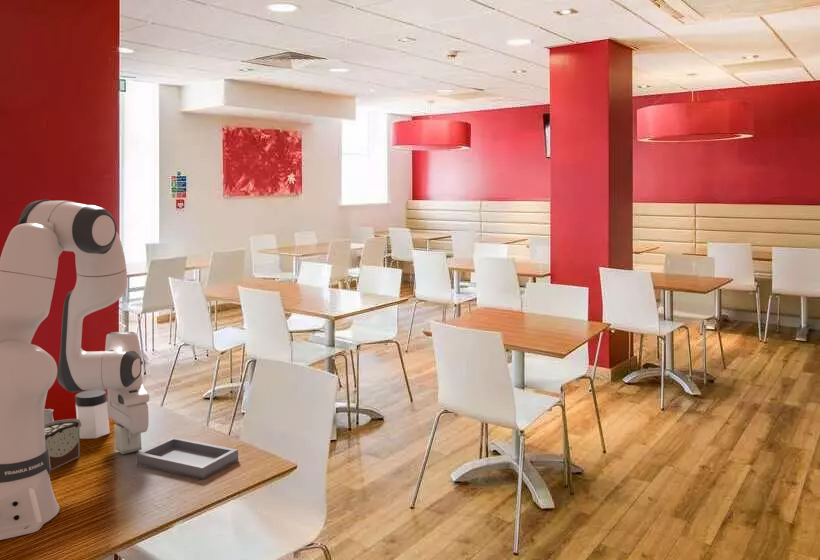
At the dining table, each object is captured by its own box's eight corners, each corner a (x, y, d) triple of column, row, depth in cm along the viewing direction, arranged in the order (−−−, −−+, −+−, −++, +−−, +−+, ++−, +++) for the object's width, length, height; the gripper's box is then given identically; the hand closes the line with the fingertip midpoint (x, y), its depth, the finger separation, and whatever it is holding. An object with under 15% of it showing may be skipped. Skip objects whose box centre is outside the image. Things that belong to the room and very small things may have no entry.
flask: (51, 451, 187) (48, 415, 186) (28, 449, 189) (25, 414, 187) (69, 441, 194) (67, 407, 193) (47, 440, 196) (44, 405, 194)
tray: (203, 480, 168) (202, 468, 167) (136, 464, 177) (136, 453, 177) (238, 460, 179) (237, 449, 179) (174, 447, 189) (173, 436, 189)
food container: (65, 452, 187) (62, 416, 185) (83, 454, 185) (80, 418, 183) (26, 469, 175) (23, 431, 174) (45, 473, 173) (42, 434, 172)
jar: (97, 426, 206) (94, 387, 204) (116, 431, 202) (113, 391, 201) (70, 436, 198) (67, 396, 196) (89, 441, 194) (86, 399, 193)
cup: (122, 454, 183) (120, 426, 182) (115, 449, 186) (114, 422, 185) (141, 449, 186) (140, 422, 185) (134, 444, 190) (133, 418, 189)
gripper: (99, 385, 190) (102, 433, 191) (127, 401, 175) (130, 454, 176) (123, 380, 194) (125, 428, 196) (152, 396, 179) (154, 448, 181)
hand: (128, 441), depth 186 cm, fingers closed on cup, 5 cm apart
